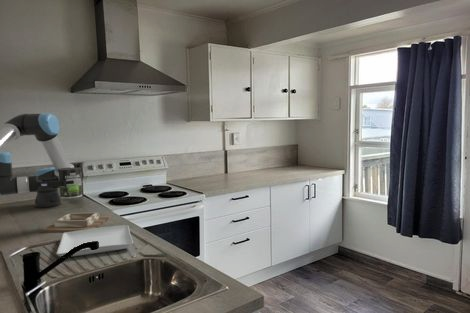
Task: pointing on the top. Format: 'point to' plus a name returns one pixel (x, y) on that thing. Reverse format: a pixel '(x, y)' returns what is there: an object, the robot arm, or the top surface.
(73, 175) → the coffee can
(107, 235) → the square plate
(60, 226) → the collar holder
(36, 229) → the top surface
